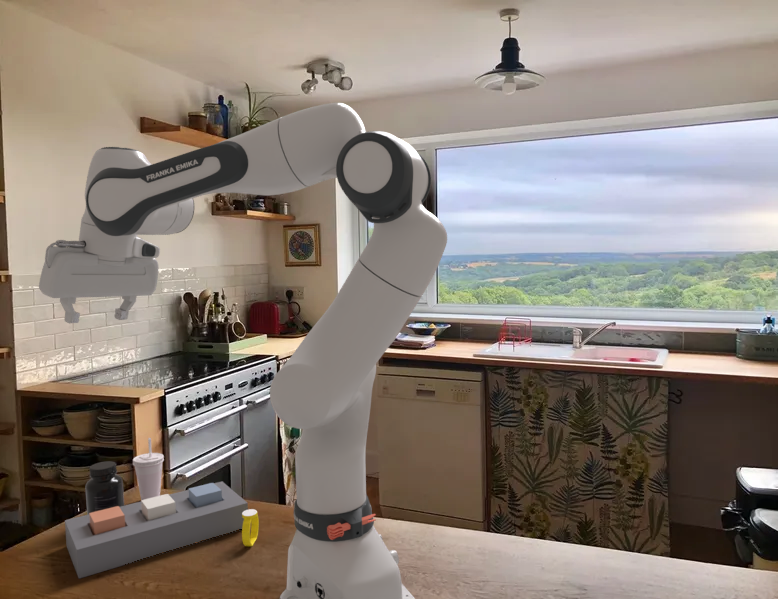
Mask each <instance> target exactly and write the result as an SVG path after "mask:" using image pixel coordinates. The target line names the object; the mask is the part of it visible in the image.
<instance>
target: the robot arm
mask: <svg viewBox="0 0 778 599" xmlns="http://www.w3.org/2000/svg"><path fill="white" fill-rule="evenodd" d="M89 164H90V165H89V168H88V171H87V176H86V180H85V181H86V182H85V190H84V200H85V209H84V212H83V214H82V217H81V221H80V227H79V236H78V240H64V239H57V240H56V241H55V242H52V243H51V244H50V245H48V246H47V248H46V249H45V255H44V263H43V265H42V270H41V274H40V278H39V283H38V289H39V290H40V292H41V293H42V294H43V295H45V296H47V297H49V298H52V299H59V302H60V305H61V306H62V308H63V310H64V322H65V323H67V324H78V323H79V322H80V316H81V313H80V312H77V311H75V308H74V306H73V305H75V304H76V301H77V298H107V297H108V298H110V297H121V299H123V301H122V302H121V304H120V306H119V308H118V307H117V308H115V311H114V319H116V320H118V321H124V320H128V318H129V311H130V310H131V309H132V307H133V306H134V305H135V304H136V302H137V297H143V296H144V297H146V296H152V295H153V293H154V292H155V291H156V289H157V286H158V281H159V280H158V277H159V262H158V260H157V258H159V256H160V253H161V248H160V247H159V246H158V245H156V244H154V243H151V242H149V241H147V240H145V239H143V238H142V237H139V236H138V235H141V236H142V235H143V236H144V235H145V236H157V235H158V236H164V235H165V236H166V235H167V236H170V235H175V234H179V233H181V232H183V231H185V230H186V229H187V228H188V227H189V226H190V224H191V223H192V221H193V218H194V214H195V201H194V199H196V198H199V197H202V196H204V195H205V196H206V195H212V194H220V193H223V194H226V193H227V194H228V193H230V194H246V195H255V196H277V195H284V194H289V193H294V192H297V191H300V190H303V189H306V188H309V187H312V186H315V185H317V184H319V183H321V182H325V181H328V180H331V179H337V181H338V184H339V186H340V188H341V190H342V192H343V193H344V194H345V196H346V197H347V198H348V200H349V201H350V202H351V203H352V205H353V206H354V207H355V208H356V209H357V210H358V211H359V212H360V214H361V215H362V216H363V217H364V219H365V220H366V221H367V222H369V223H373V229H372V230H373V231H372V234H371V236H370V239H369V240H368V242H367V244H366V246H365V247H364V248H363V251H362V252H361V253H360V255H359V257H358V259H357V261H356V263H355V264H354V266H353V267H352V269H351V271H350V272H349V274H348V276H347V277H346V279H345V281H344V282H343V285H342V286H341V288H340V289H339V291H338V293H337V295H336V296H335V298H334V299H333V301H332V302H331V303H330V305H329V306H328V307H327V309H326V310H325V312H324V313H323V314H322V315H321V317H320V318H319V319H318V320H317V322H316V323H315V324H314V325H313V326H312V328H311V329H310V330H309V332H308V333H307V334H306V336H305V337H304V338H303V340H302V341H301V343H300V344H299V345H298V346H297V348H296V350H294V352H293V353H292V354H291V356H290V357H289V359H288V360H287V361H286V363H284V365H283V366H281V368H280V369H279V370H278V372H276V374H275V375H274V377H273V378H272V381H271V384H270V387H269V388H270V389H269V400H270V403H271V406H272V410H273V411H274V412H275V414H276V416H277V417H278V418H279V419H280V420H281V421H282V422H283V423H284V424H286V425H287V426H289V427H292V428H294V429H298V430H302V432H301V436H300V439H299V441H298V442H299V443H298V444H297V447H296V449H295V450H296V451H295V456H294V457H295V458H294V460H295V461H294V462H295V487H296V488H295V492H296V494H295V495H296V499H295V500H294V507H293V518H294V519H293V520H294V523H293V524H294V527H295V528H296V529H295V533H294V536H293V538H292V540H291V542H290V545H289V546H288V550H287V567H286V570H287V571H286V573H287V574H286V588H285V589H284V591H282V593H281V594H280V596H279V599H416V598H415V597H414V595H412V593H411V592H410V591H409V590H408V589H407V587H406V586H405V585H404V584H403V583H402V576H401V575H402V574H401V572H400V568H399V566H398V565H399V561H400V560H399V559H400V558H399V554H398V552H397V550H395V549H392V550H391V549H390V550H389V549H388V547H387V545H386V544H385V542H384V540H383V536H382V534H380V533H379V532H378V530H376V528H375V525H374V523H375V521H376V519H375V518H374V517H376V515H377V514H376V513H373V512H372V510H373V509H372V505H371V503H370V499H369V496H368V495H367V482H366V481H367V477H366V476H367V474H366V473H367V472H366V471H367V469H366V448H367V436H368V432H369V431H368V430H369V422H370V415H371V414H370V413H371V407H372V406H371V405H372V395H373V386H374V382H375V379H376V376H377V375H376V374H377V363H378V361H379V360H380V359H381V358H382V356H383V355H384V354H385V353H386V351H387V350H388V348H390V346H391V345H392V344H393V342H394V341H395V340H396V339H397V337H398V336H399V334H400V332H401V331H402V329H403V327H404V325H405V324H406V322H407V320H408V319H409V317H410V316H411V315H412V312H413V311H414V309H415V308H416V306H417V305H418V303H419V301H420V300H421V298H422V297H423V295H424V293H425V292H426V290H427V289H428V287H429V285H430V282H431V281H432V279H433V277H434V275H435V273H436V271H437V269H438V267H439V264H440V262H441V260H442V259H443V258H442V257H443V254H444V252H445V250H446V247H447V243H448V235H447V234H448V233H447V230H446V228H445V226H444V225H443V223H442V221H441V220H440V219H439V218H438V217H437V216H436V215H434V214H433V213H432V212H430V211H429V210H427V208H426V207H425V206H424V205H423V203H424V202H425V201H426V199H427V198H428V195H429V193H430V189H431V185H432V179H431V178H432V177H431V172H430V171H431V170H430V169H429V165H428V163H427V161H426V160H425V158H424V157H422V155H421V154H420V153H418V151H417V150H416V149H415V148H414V147H413V146H412V145H411V144H410V143H408V142H407V141H405V140H403V139H402V138H399V137H397V136H395V135H394V134H392V133H390V132H387V131H383V130H382V131H381V130H372V131H371V130H370V131H367V130H366V128H365V124H364V122H363V120H362V119H361V117H360V116H359V114H358V113H357V112H356V111H355V110H354V109H353V108H352V107H351V106H349V105H348V104H346V103H343V102H330V103H323V104H319V105H314V106H311V107H307V108H304V109H300V110H297V111H295V112H291V113H289V114H288V113H287V114H286V115H283V116H281V117H278V118H277V119H274V120H271V121H269V122H267V123H264V124H261V125H259V126H257V127H255V128H252V129H249V130H248V131H245V132H243V133H240V134H238V135H235V136H232V137H229V138H228V139H223V140H221V141H219V142H217V143H214V144H211V145H207V146H205V147H202V148H198V149H195V150H191V151H188V152H185V153H182V154H179V155H176V156H173V157H171V158H167V159H164V160H162V161H158V162H156V163H153V164H152V163H151V162H150V161H149V160H148V158H147V156H146V155H145V154H144V153H143V152H142V151H140V150H139V149H138V150H137V149H134V148H128V147H121V146H120V147H119V146H106V147H105V146H104V147H101V148H99V149H97V150H96V151H95V153H94V154H93V156H92V158H91V161H90V163H89Z"/></svg>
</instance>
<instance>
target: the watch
mask: <svg viewBox="0 0 778 599" xmlns="http://www.w3.org/2000/svg"><path fill="white" fill-rule="evenodd" d="M242 517H243V518H244V521H243V526H242V530H241V540H242V545H244V546H245V547H253V546H254V544H255V542H256V540H257V539H258V536H259V529H260V528H259V527H260V526H259V525H260V522H259V521H260V520H259V516H258V511H257V510H256V509H254V508H251V509H250V508H248V510H245V511H243V512H242Z"/></svg>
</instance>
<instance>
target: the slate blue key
mask: <svg viewBox="0 0 778 599" xmlns="http://www.w3.org/2000/svg"><path fill="white" fill-rule="evenodd" d="M187 490H188V491H189V502H190V503H191V504H192V505H193V506H194V507H195V508H197V507H201V506H205V505H208V504H212V503H216V502H220V501H222V490H221V489H220V488H219V487H217V486H216V485H215V484H214V482H209V483H205V484H203V485H202V484H201V485H198V486H194V487H190V488H188V489H187Z"/></svg>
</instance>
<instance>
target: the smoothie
mask: <svg viewBox="0 0 778 599" xmlns="http://www.w3.org/2000/svg"><path fill="white" fill-rule="evenodd" d="M147 442H148V453H143V454H142V453H141V454H139V455H137V456H134V457H133V459H132V466H133V467H134V469H135V475H136V480H137V485H138V491H139V495H140V496H139V497H140V501H141V500H144V499H148V498H153V497H157V496H161V485H162V475H163V474H162V473H163V471H162V470H163V462H164V461H165V459H164V458H165V456H164V454H163V453H159V452H153V450H152V438H151V437H148V439H147Z"/></svg>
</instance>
